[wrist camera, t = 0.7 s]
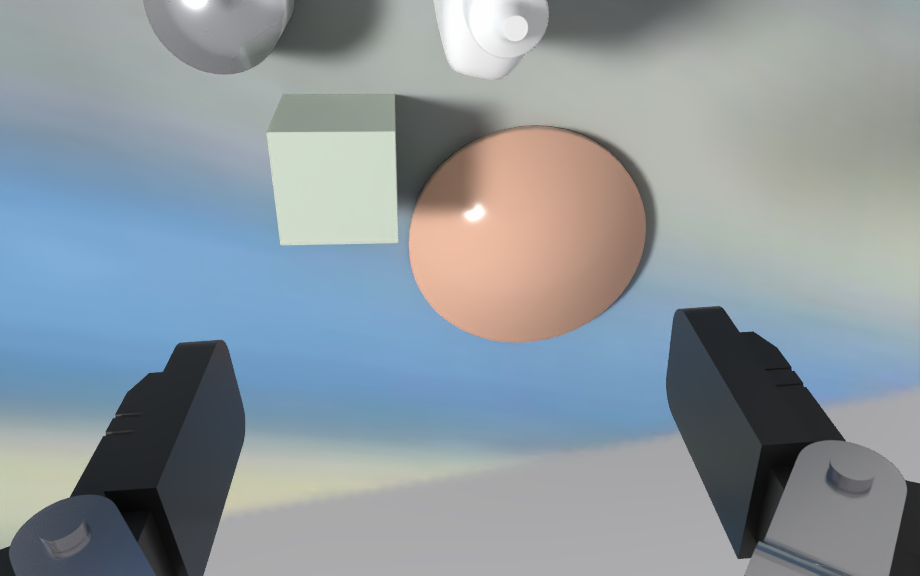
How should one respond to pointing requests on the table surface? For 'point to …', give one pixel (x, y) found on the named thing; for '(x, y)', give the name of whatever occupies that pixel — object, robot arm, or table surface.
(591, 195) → the salmon disc
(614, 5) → the table surface
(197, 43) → the steel puck
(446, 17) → the eye dropper bottle
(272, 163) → the sage block
